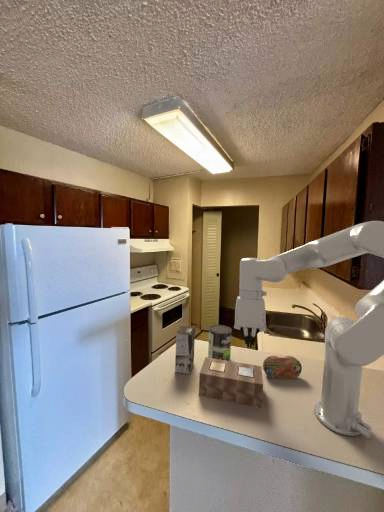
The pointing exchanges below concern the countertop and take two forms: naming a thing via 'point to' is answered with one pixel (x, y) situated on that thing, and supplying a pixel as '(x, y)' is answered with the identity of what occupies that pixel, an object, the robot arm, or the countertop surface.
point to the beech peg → (217, 367)
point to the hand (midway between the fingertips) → (249, 346)
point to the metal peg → (245, 372)
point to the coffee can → (219, 342)
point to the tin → (282, 367)
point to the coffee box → (184, 349)
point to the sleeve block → (231, 383)
